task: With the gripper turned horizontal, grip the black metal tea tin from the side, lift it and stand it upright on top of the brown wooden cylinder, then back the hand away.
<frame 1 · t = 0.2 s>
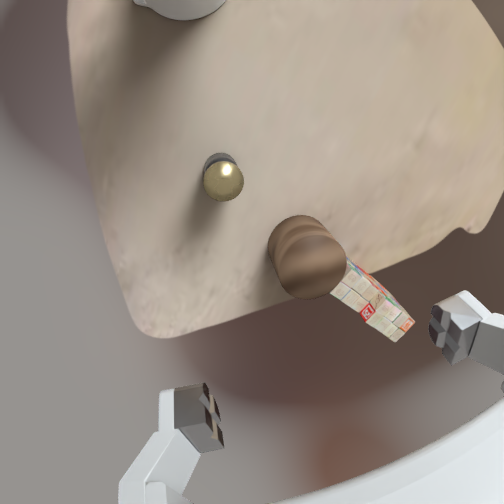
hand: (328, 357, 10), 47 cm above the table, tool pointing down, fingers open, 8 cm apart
brown wooden cylinder: (298, 244, 62), on the table
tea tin: (220, 168, 53), on the table
stack of blocks: (355, 281, 68), on the table
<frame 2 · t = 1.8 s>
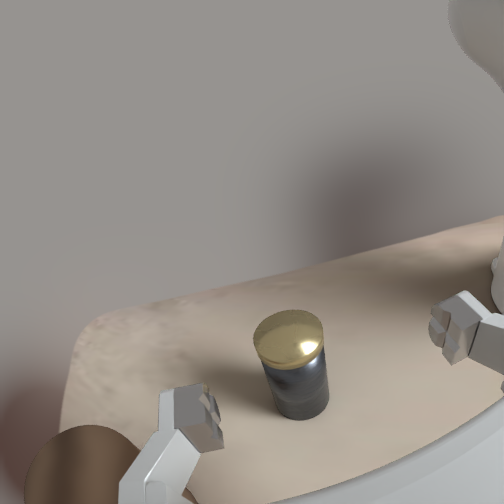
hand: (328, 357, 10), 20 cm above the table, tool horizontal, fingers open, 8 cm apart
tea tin: (302, 398, 30), on the table
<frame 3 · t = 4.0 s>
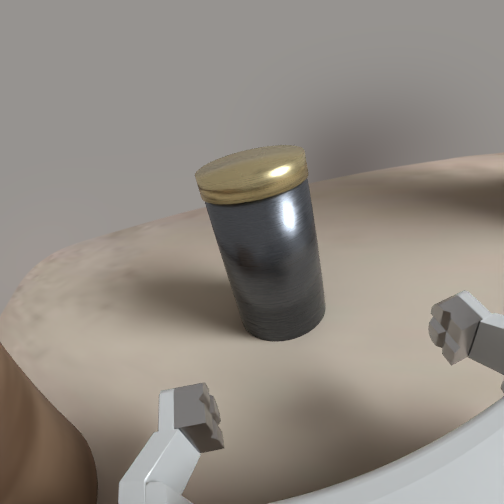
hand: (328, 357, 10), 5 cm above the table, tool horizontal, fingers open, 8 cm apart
brown wooden cylinder: (21, 487, 11), on the table
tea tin: (283, 310, 21), on the table
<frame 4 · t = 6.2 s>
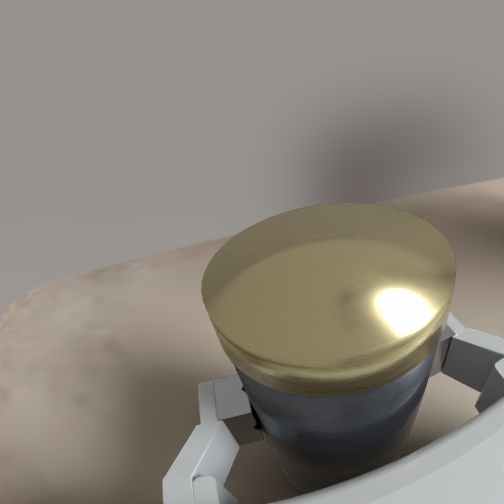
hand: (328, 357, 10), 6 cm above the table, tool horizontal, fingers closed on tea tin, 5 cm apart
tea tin: (340, 446, 12), on the table, touching gripper
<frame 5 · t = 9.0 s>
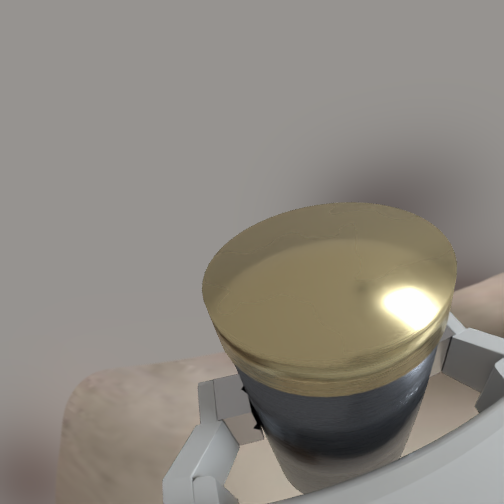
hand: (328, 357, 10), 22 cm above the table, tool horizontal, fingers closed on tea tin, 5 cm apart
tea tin: (340, 446, 12), point 16 cm above the table, touching gripper
when the fingers open (17 cm above the table, at t = 11.9 s): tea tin drops 2 cm, resting on brown wooden cylinder.
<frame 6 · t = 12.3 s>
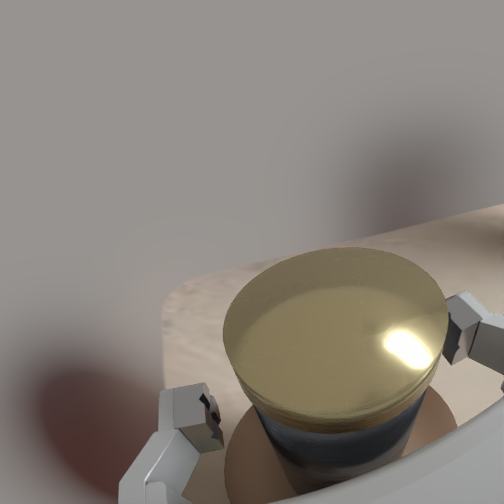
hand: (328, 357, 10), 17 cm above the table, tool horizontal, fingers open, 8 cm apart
brown wooden cylinder: (342, 497, 18), on the table, touching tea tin
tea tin: (341, 458, 12), point 10 cm above the table, touching brown wooden cylinder
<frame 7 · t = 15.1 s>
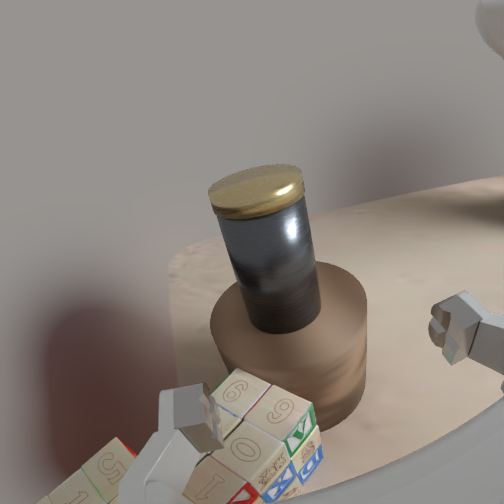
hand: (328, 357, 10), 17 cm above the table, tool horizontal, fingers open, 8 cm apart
brown wooden cylinder: (303, 382, 29), on the table, touching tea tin
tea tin: (284, 307, 24), point 10 cm above the table, touching brown wooden cylinder
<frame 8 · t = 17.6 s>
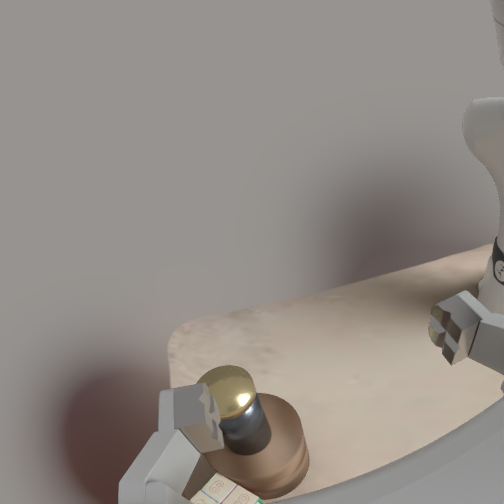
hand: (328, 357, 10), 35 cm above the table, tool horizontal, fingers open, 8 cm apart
brown wooden cylinder: (266, 462, 37), on the table, touching stack of blocks, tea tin
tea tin: (248, 435, 32), point 10 cm above the table, touching brown wooden cylinder
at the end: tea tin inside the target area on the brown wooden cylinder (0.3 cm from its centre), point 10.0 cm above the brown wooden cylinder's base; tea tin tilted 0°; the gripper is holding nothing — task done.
